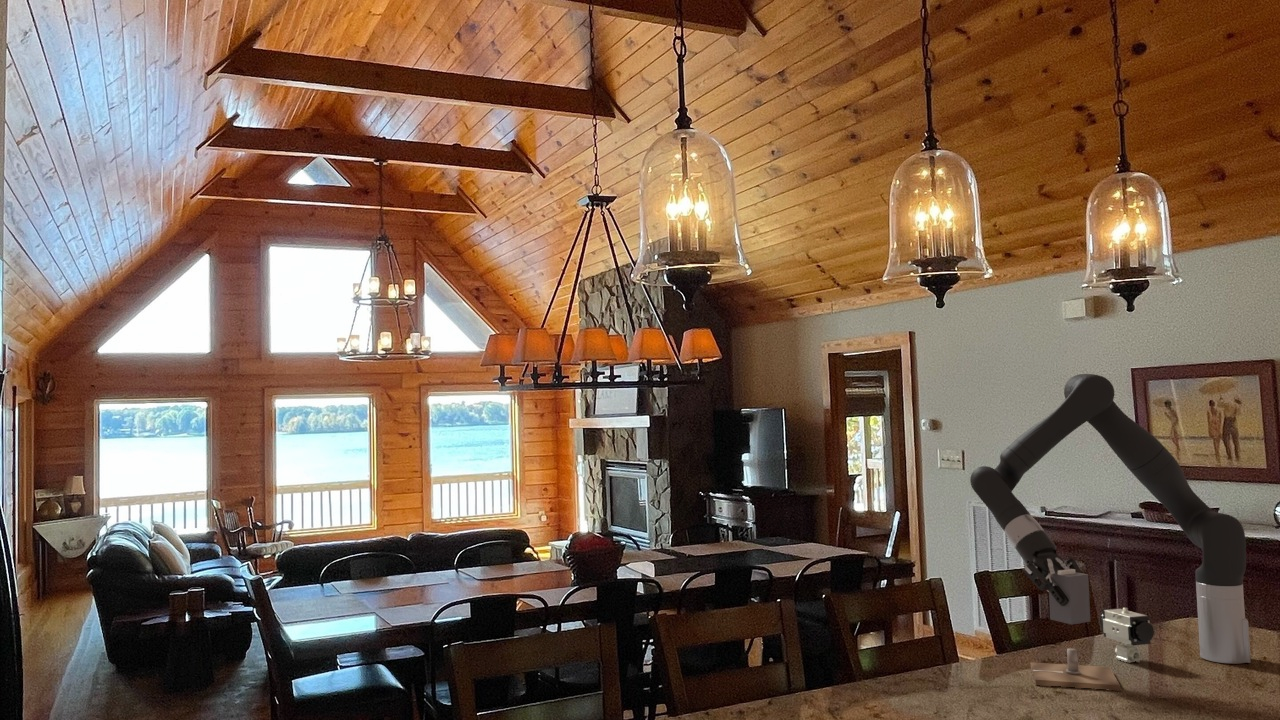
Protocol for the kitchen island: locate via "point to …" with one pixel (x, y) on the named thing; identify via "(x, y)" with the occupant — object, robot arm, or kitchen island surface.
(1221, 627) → the robot arm
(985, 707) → the kitchen island surface
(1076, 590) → the grey rectangular block
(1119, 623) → the pneumatic valve
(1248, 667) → the kitchen island surface
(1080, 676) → the panel
